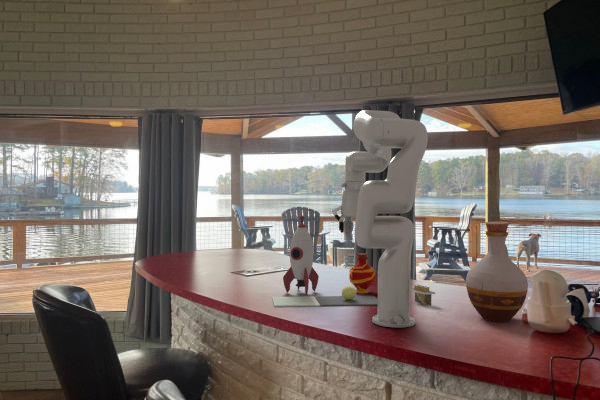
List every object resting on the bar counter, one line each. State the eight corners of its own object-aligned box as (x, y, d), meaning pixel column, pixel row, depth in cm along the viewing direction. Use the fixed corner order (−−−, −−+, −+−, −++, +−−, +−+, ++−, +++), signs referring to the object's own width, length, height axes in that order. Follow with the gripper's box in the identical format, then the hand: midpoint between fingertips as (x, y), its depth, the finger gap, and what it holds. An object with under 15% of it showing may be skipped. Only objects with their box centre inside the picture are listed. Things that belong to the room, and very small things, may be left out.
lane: (384, 305, 166) (384, 303, 166) (274, 306, 162) (274, 305, 162) (373, 297, 180) (373, 295, 180) (272, 298, 176) (272, 296, 176)
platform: (427, 311, 159) (427, 292, 159) (391, 301, 175) (391, 283, 175) (452, 308, 165) (453, 288, 165) (415, 298, 181) (415, 280, 181)
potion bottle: (374, 295, 184) (375, 255, 184) (347, 293, 186) (347, 254, 186) (375, 290, 194) (376, 252, 194) (350, 288, 196) (350, 252, 196)
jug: (478, 308, 163) (479, 219, 163) (535, 317, 152) (537, 221, 151) (456, 319, 148) (457, 221, 148) (518, 329, 136) (519, 224, 136)
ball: (357, 301, 170) (357, 287, 170) (343, 301, 169) (343, 287, 169) (354, 298, 175) (354, 284, 175) (340, 298, 174) (340, 284, 174)
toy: (282, 293, 185) (283, 215, 185) (295, 289, 194) (296, 214, 194) (308, 296, 180) (308, 216, 180) (320, 291, 189) (321, 215, 189)
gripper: (334, 186, 176) (333, 233, 176) (380, 187, 178) (379, 233, 178) (330, 186, 184) (330, 231, 184) (375, 187, 185) (374, 231, 185)
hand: (354, 232), depth 181 cm, fingers open, 9 cm apart
